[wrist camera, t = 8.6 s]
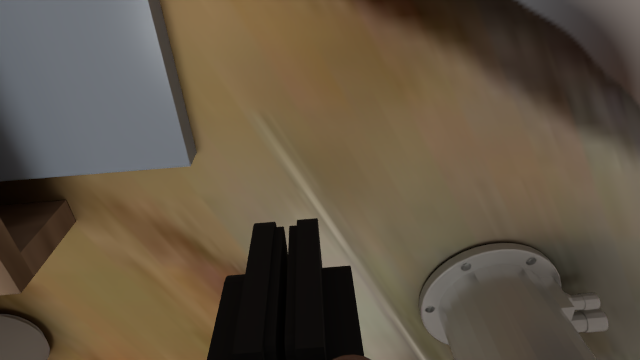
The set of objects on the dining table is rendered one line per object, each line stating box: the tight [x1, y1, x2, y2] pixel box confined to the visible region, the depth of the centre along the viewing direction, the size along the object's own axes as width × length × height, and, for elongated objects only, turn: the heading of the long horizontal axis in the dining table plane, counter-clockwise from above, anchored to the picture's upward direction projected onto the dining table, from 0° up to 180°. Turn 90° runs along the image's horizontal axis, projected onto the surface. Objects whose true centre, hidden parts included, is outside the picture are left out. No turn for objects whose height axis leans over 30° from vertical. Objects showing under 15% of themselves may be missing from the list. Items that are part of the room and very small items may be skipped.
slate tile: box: [0, 0, 197, 181], centre depth 26 cm, size 18×11×2 cm, turn 94°
